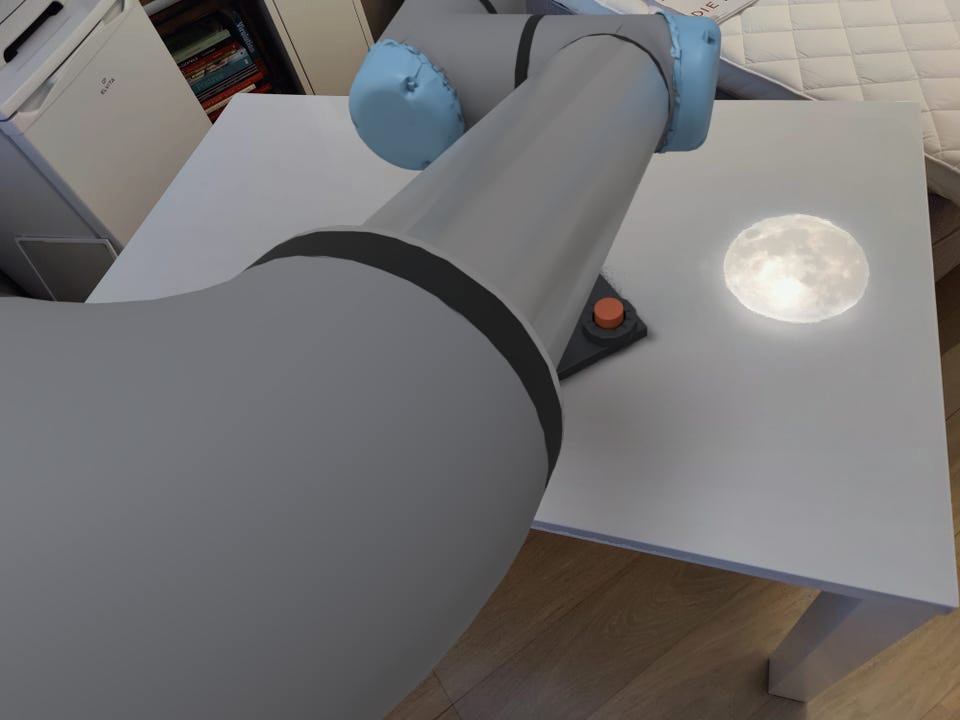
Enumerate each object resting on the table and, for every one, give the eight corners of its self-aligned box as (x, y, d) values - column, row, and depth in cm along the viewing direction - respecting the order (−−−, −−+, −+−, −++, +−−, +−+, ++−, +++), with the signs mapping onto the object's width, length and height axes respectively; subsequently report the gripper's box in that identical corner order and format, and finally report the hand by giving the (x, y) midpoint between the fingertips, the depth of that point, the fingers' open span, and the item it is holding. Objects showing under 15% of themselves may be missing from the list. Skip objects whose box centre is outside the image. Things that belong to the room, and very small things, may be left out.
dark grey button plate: (528, 402, 79) (525, 385, 76) (476, 323, 87) (471, 305, 84) (650, 338, 81) (650, 319, 78) (587, 267, 89) (586, 248, 86)
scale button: (604, 333, 79) (604, 324, 77) (589, 315, 81) (588, 305, 79) (628, 321, 79) (628, 311, 78) (613, 303, 81) (613, 293, 80)
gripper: (405, 181, 56) (461, 352, 74) (616, 84, 59) (619, 272, 77) (372, 134, 60) (432, 306, 79) (570, 46, 63) (583, 232, 81)
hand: (524, 289), depth 78 cm, fingers closed on beverage can, 7 cm apart
